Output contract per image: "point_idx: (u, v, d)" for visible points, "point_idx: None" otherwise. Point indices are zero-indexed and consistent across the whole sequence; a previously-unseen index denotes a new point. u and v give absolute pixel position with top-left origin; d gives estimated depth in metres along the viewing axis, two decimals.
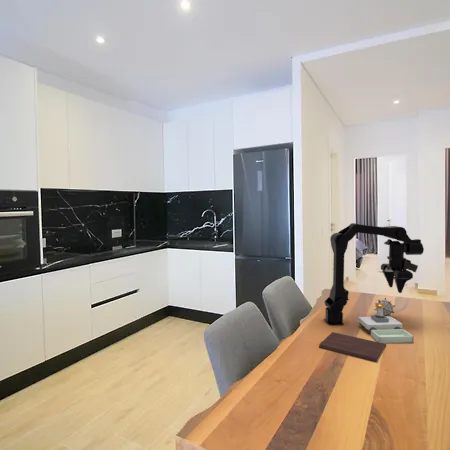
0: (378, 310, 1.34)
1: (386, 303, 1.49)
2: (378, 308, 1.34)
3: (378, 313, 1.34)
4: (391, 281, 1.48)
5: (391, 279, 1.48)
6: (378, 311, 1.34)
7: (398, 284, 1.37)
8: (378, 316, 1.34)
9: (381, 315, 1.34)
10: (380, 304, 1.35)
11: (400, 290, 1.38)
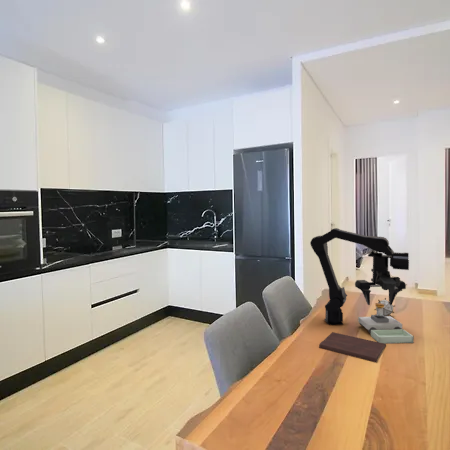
0: (378, 310, 1.34)
1: (386, 303, 1.49)
2: (378, 308, 1.34)
3: (378, 313, 1.34)
4: (390, 298, 1.35)
5: (391, 296, 1.35)
6: (378, 311, 1.34)
7: (364, 294, 1.36)
8: (378, 316, 1.34)
9: (381, 315, 1.34)
10: (380, 304, 1.35)
11: (367, 302, 1.35)
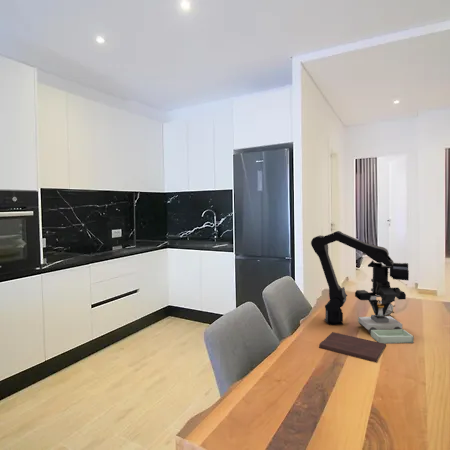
0: (378, 310, 1.34)
1: None
2: (378, 308, 1.34)
3: (378, 313, 1.34)
4: (383, 308, 1.35)
5: (384, 306, 1.35)
6: (378, 311, 1.34)
7: (371, 304, 1.36)
8: (378, 316, 1.34)
9: (381, 315, 1.34)
10: (380, 304, 1.35)
11: (374, 312, 1.35)
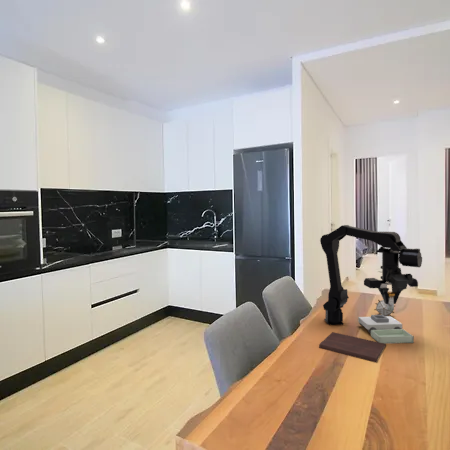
0: (389, 299, 1.26)
1: None
2: (389, 297, 1.26)
3: (389, 302, 1.26)
4: (394, 297, 1.27)
5: None
6: (389, 300, 1.26)
7: (381, 293, 1.28)
8: (389, 305, 1.26)
9: (392, 304, 1.26)
10: (391, 292, 1.27)
11: (385, 301, 1.27)
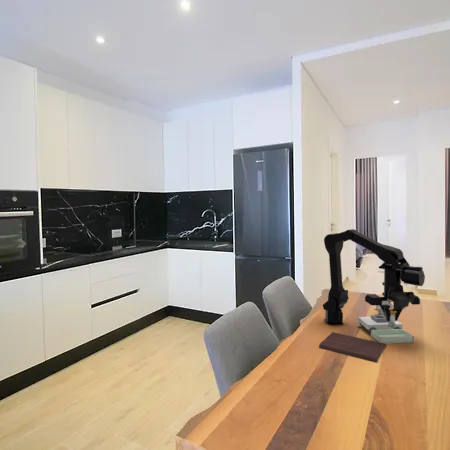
0: (390, 316, 1.25)
1: None
2: (390, 314, 1.25)
3: (390, 319, 1.25)
4: (395, 314, 1.25)
5: None
6: (390, 317, 1.25)
7: (382, 310, 1.27)
8: (390, 322, 1.25)
9: (393, 321, 1.24)
10: (392, 309, 1.25)
11: (386, 318, 1.25)
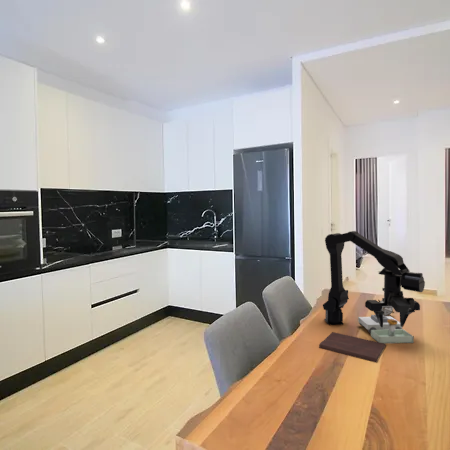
0: (390, 327, 1.25)
1: None
2: (390, 325, 1.25)
3: (390, 330, 1.25)
4: (402, 319, 1.25)
5: (402, 317, 1.25)
6: (390, 328, 1.25)
7: (376, 315, 1.27)
8: (390, 333, 1.25)
9: (393, 332, 1.25)
10: (392, 320, 1.25)
11: (380, 324, 1.25)
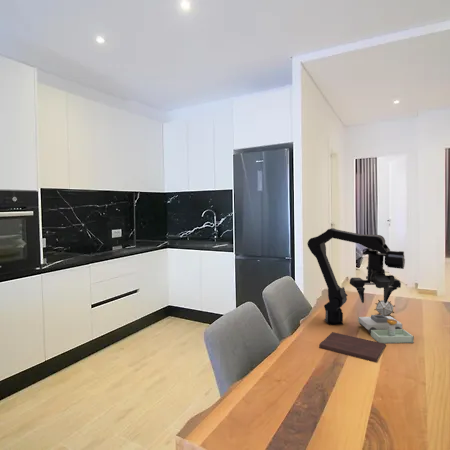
0: (390, 327, 1.25)
1: (386, 303, 1.49)
2: (390, 325, 1.25)
3: (390, 330, 1.25)
4: (385, 296, 1.34)
5: (385, 294, 1.34)
6: (390, 328, 1.25)
7: (358, 292, 1.35)
8: (390, 333, 1.25)
9: (393, 332, 1.25)
10: (392, 320, 1.25)
11: (361, 300, 1.34)
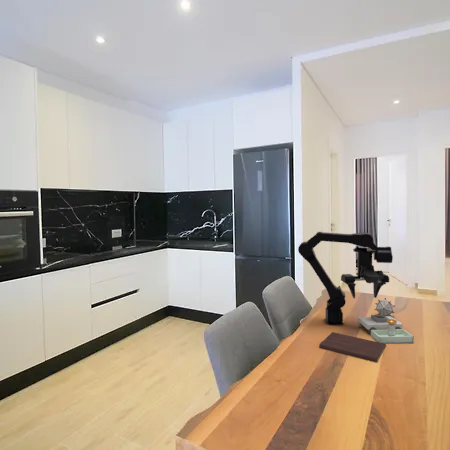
0: (390, 327, 1.25)
1: (386, 303, 1.49)
2: (390, 325, 1.25)
3: (390, 330, 1.25)
4: (375, 291, 1.40)
5: (375, 289, 1.40)
6: (390, 328, 1.25)
7: (349, 288, 1.41)
8: (390, 333, 1.25)
9: (393, 332, 1.25)
10: (392, 320, 1.26)
11: (352, 295, 1.40)
